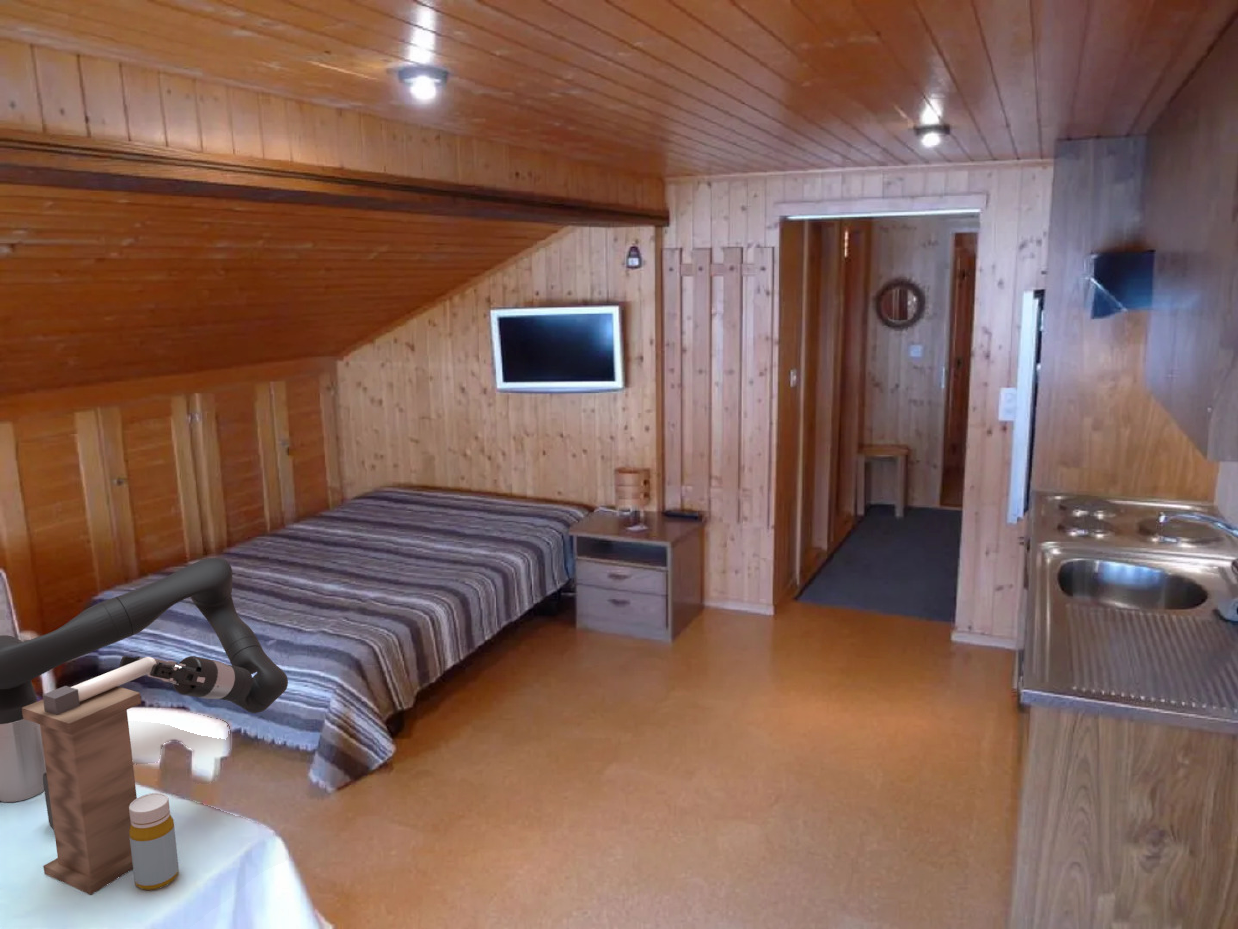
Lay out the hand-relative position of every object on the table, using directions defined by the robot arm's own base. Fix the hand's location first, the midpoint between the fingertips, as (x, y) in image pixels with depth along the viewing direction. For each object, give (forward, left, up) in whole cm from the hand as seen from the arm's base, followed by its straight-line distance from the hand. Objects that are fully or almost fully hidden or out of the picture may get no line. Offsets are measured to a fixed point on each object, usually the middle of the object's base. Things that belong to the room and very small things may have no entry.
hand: (136, 665), depth 170 cm
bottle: (+13, -9, -34) cm, 38 cm away
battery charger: (-18, -6, -34) cm, 39 cm away
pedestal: (0, -11, -34) cm, 36 cm away
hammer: (0, -6, -2) cm, 7 cm away
